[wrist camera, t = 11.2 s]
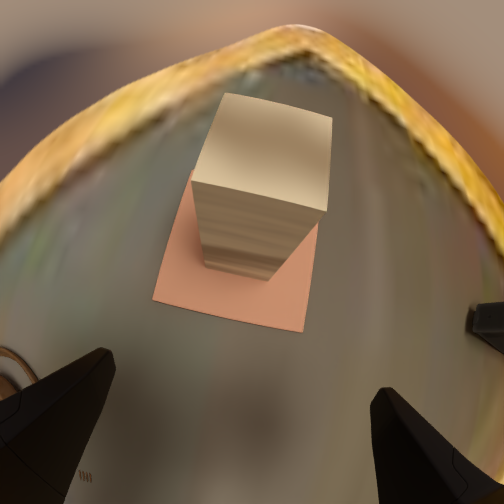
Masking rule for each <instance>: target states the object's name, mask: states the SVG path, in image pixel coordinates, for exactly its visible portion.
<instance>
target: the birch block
mask: <svg viewBox="0 0 504 504" xmlns="http://www.w3.org/2000/svg"><path fill="white" fill-rule="evenodd" d="M331 138H332V118H330V117H327V116H324V115H321V114H317V113H314V112H310V111H307V110H303V109H299V108H296V107H292V106H288V105H284V104H280V103H276V102H271V101H267V100H262V99H257V98H252V97H247V96H242V95H237V94H231V93H225V94H224V96H223V99H222V101H221V103H220V106H219V108H218V110H217V113H216V115H215V118H214V120H213V123H212V125H211V128H210V130H209V133H208V135H207V138H206V140H205V143H204V145H203V148H202V151H201V153H200V156H199V159H198V161H197V164H196V167H195V170H194V172H193V175H192V178H191V185H192V192H193V198H194V205H195V211H196V217H197V223H198V228H199V234H200V240H201V245H202V251H203V256H204V262H205V267H206V268H208V269H212V270H216V271H221V272H225V273H230V274H234V275H239V276H243V277H248V278H252V279H257V280H262V281H266V282H268V281H269V280H270V279H271V278H272V276H273V275H274V274H275V273H276V272H277V271H278V269H279V268H280V267H281V266H282V265H283V264H284V262H285V261H286V260H287V259H288V258H289V256H290V255H291V254H292V253H293V252H294V250H295V249H296V248H297V247H298V246H299V244H300V243H301V242H302V241H303V240H304V238H305V237H306V236H307V235H308V234H309V232H310V231H311V230H312V229H313V228H314V226H315V225H316V224H317V223H318V221H319V220H320V219H321V218H322V217H323V215H324V214H325V213H326V212H327V201H328V189H329V175H330V158H331Z"/></svg>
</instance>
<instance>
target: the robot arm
mask: <svg viewBox="0 0 504 504" xmlns="http://www.w3.org/2000/svg"><path fill="white" fill-rule="evenodd" d="M115 371H116V366H115V362H114V358H113V354H112V351H111V350H109V349H106V348H103V347H100V348H97V349H95V350H94V351H92V352H90V353H88V354H86V355H85V356H83V357H81V358H79V359H77V360H76V361H74V362H72V363H70V364H68V365H66V366H65V367H63V368H61V369H59V370H57V371H55V372H54V373H52V374H50V375H48V376H46V377H44V378H43V379H41V380H39V381H37V382H35V383H33V384H32V385H30V386H28V387H26V388H24V389H23V390H20V391H19V392H17V393H15V394H13V395H11V396H9V397H7V398H5V399H3V400H1V401H0V504H63V503H64V501H65V497H66V495H67V492H68V489H69V487H70V484H71V482H72V479H73V477H74V474H75V472H76V469H77V467H78V464H79V462H80V459H81V457H82V455H83V452H84V450H85V447H86V445H87V443H88V441H89V438H90V436H91V434H92V432H93V429H94V427H95V425H96V423H97V421H98V418H99V416H100V414H101V412H102V409H103V407H104V404H105V401H106V398H107V395H108V392H109V389H110V386H111V383H112V380H113V378H114V375H115ZM370 416H371V438H372V449H373V456H374V463H375V471H376V479H377V487H378V497H379V504H504V485H503V484H500V483H498V482H496V481H495V480H493V479H492V478H491V477H489V476H488V475H487V474H485V473H484V472H483V471H481V470H480V469H479V468H477V467H476V466H475V465H474V464H472V463H471V462H470V461H469V460H468V459H466V458H465V457H464V456H463V455H462V454H461V453H460V452H459V451H458V450H457V449H456V448H455V447H453V446H452V445H451V444H450V443H449V442H448V441H447V440H446V439H445V438H444V437H443V436H442V435H441V434H440V433H439V432H438V431H437V430H436V429H435V428H434V427H433V426H432V425H431V424H430V423H428V422H427V421H426V420H425V419H424V418H423V417H422V416H421V415H420V414H419V413H418V412H417V411H416V410H415V409H414V408H413V407H412V406H411V405H410V404H409V403H408V402H407V401H406V400H405V399H404V398H402V397H401V396H400V395H399V394H398V393H397V392H396V391H395V390H394V389H393V388H391V387H383V388H381V389H379V391H378V392H377V394H376V396H375V397H374V399H373V400H372V402H371V405H370Z"/></svg>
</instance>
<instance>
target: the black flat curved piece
mask: <svg viewBox="0 0 504 504" xmlns="http://www.w3.org/2000/svg"><path fill="white" fill-rule="evenodd" d="M472 324H473V329H472V330H473V332H474V333H478V334H479V335H480V336H481V337H483V338H484V339H485V340H487V341H488V342H489V343H490V344H492V345H493V346H494V347H495V348H497V349H498V350H499V351H501V352H502V353H503V354H504V302H496V303H484V304H478V305H477V308H476V311H475V312H474V318H473V323H472Z"/></svg>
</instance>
